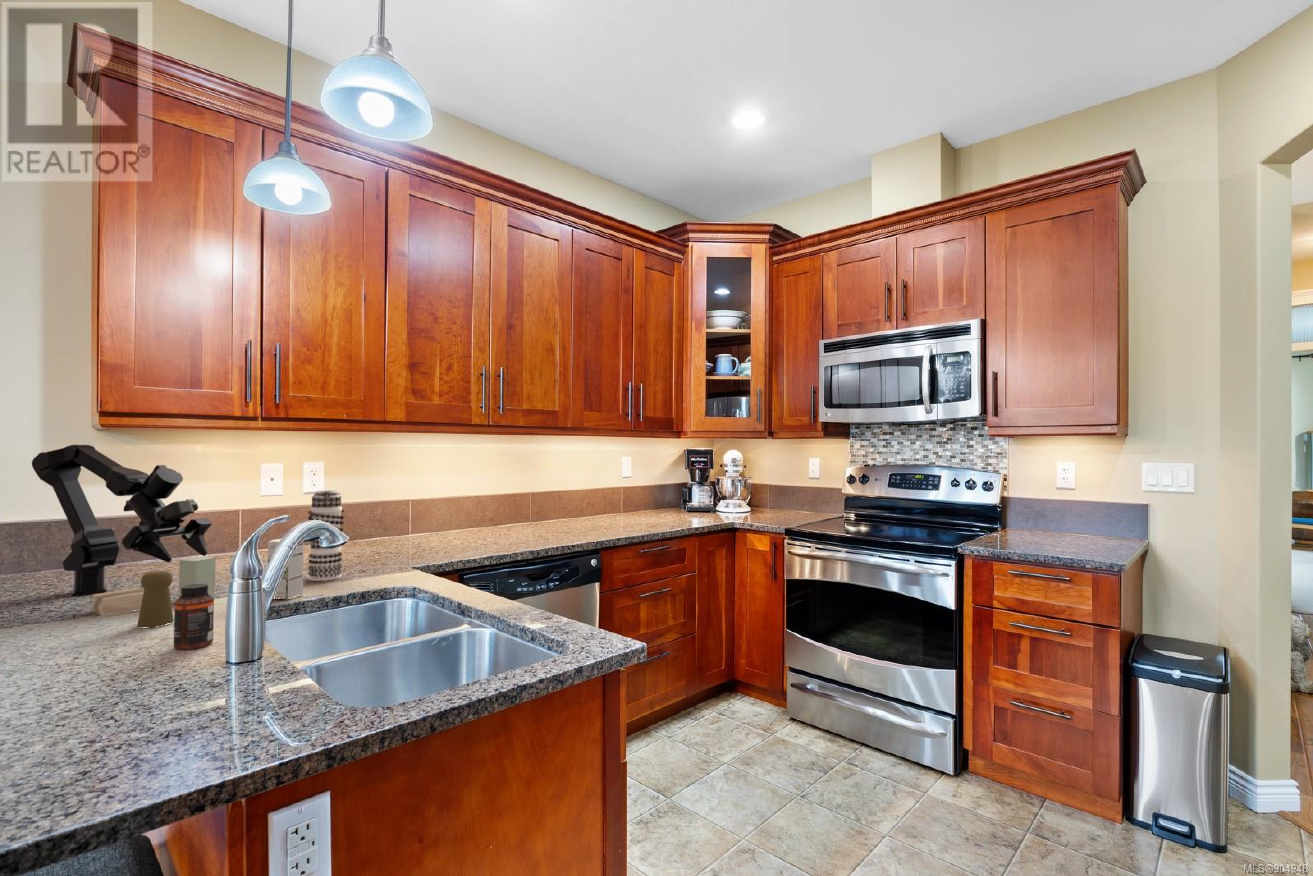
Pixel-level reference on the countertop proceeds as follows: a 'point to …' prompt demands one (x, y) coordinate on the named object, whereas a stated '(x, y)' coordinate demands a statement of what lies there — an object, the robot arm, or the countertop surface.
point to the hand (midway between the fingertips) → (188, 557)
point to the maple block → (117, 601)
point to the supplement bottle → (193, 618)
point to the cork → (156, 599)
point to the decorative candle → (322, 560)
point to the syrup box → (289, 572)
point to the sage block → (197, 573)
